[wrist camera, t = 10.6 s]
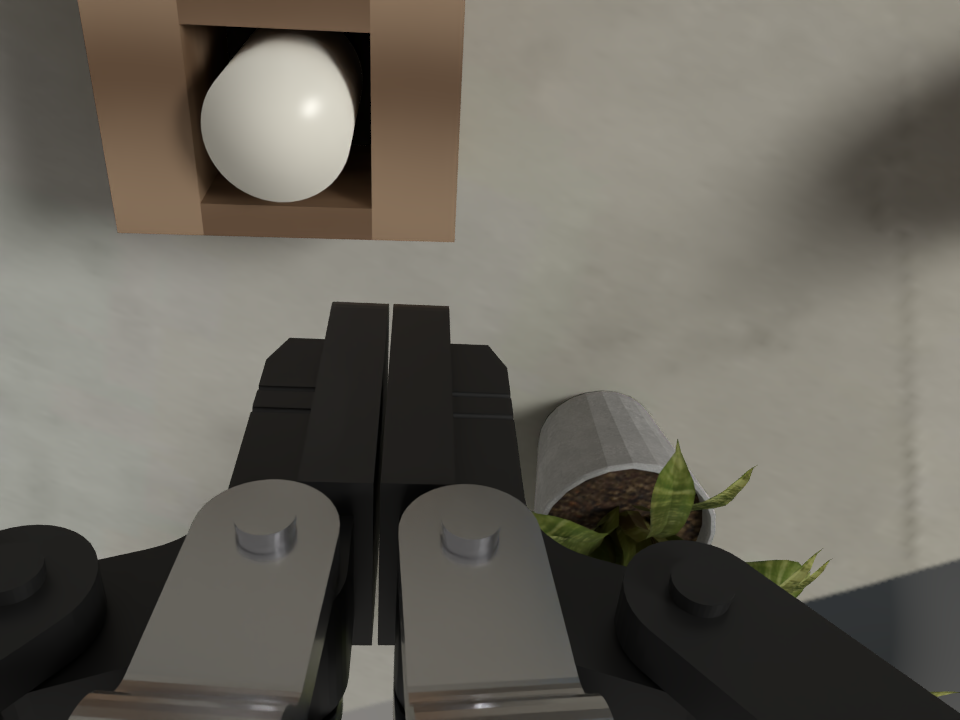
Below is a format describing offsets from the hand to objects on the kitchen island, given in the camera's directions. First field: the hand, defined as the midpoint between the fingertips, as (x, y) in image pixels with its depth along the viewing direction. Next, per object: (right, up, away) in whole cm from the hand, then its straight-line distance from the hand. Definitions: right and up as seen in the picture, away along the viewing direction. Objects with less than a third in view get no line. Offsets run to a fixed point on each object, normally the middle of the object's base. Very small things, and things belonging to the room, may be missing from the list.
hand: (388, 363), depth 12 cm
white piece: (-5, +9, +17) cm, 20 cm away
